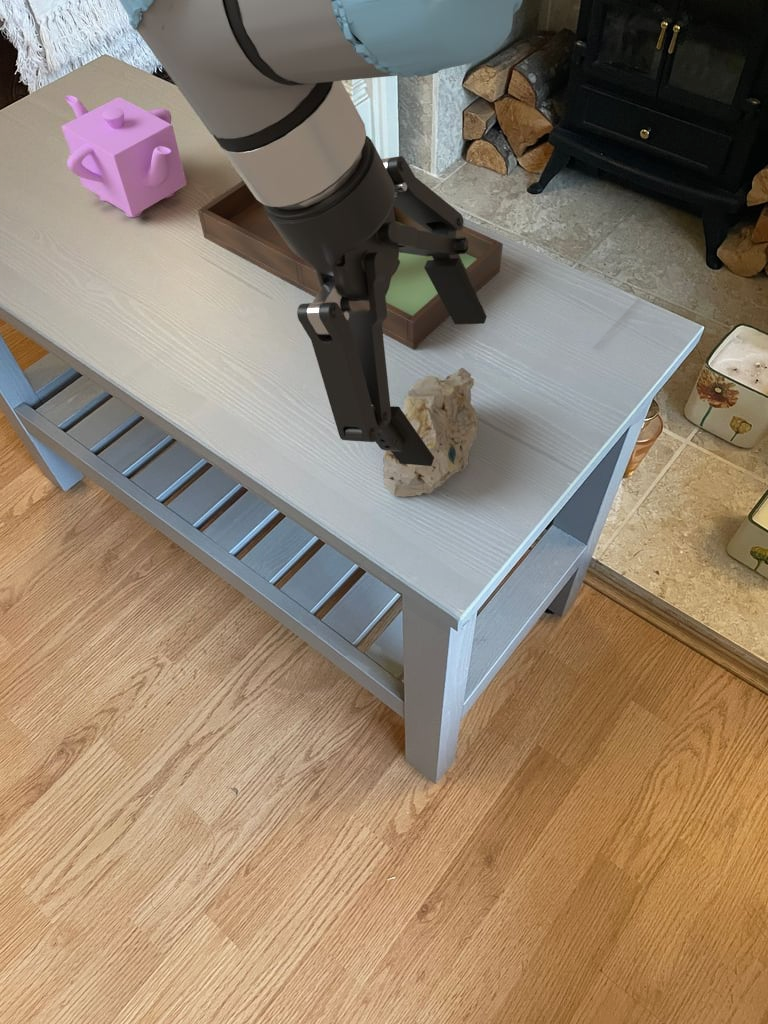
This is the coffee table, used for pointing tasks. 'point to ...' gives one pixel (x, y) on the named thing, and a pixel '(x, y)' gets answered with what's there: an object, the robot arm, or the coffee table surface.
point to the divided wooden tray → (256, 240)
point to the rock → (435, 433)
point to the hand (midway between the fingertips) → (445, 388)
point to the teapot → (124, 153)
